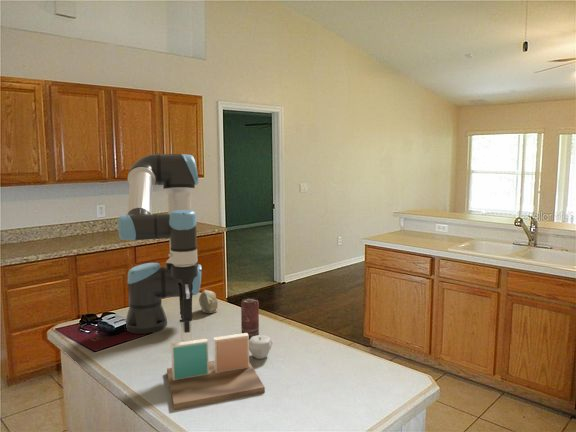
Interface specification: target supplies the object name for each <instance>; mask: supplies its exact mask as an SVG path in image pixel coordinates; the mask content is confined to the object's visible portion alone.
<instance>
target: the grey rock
mask: <svg viewBox="0 0 576 432" xmlns="http://www.w3.org/2000/svg"><path fill="white" fill-rule="evenodd" d="M198 297H199V298H198V302H199V306H200V309H201V310H202V312H203V313H205V314H212V313H216V312H218V311H217V309H218V299H217V294H216V293H215V292H214V291H212V290H207V289H203V290H202V292H201V293H200V295H199V296H198Z"/></svg>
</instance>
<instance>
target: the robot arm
mask: <svg viewBox="0 0 576 432" xmlns="http://www.w3.org/2000/svg"><path fill="white" fill-rule="evenodd" d="M127 183H128V184H129V192H128V201H127V211H126V214H124V215H120V216H119V217H118V220H117V230H118V237H119V239H120V240H121V241H133V242H134V241H144V240H145V241H146V240H160V239H161V240H163V239H168V240H169V253H168V254H167V255H168V257H169V258H168V259H167V260H166V262H165V266H161V264H160V263H159V262H148V263H142V264H139V265H135V266H133V267H131V268H130V269H129V271H128V272H127V281H126V282H127V289H128V290H127V291H128V310H127V314H126V318H125V321H124V323H125V322H126V328H127V331H126V332H129V333H130V334H132V333H133V334H150V333H154V332H157V331H161V330H163V329H164V328H166V327H167V326H168V317H167V315H166V312H165V310H164V306H163V305H162V299H168V298H170V299H171V298H179V315H180V319H179V323H180V326H181V327H180V328H181V342H185V341H192V335H193V334H192V322H193V296H196V295H198V294H199V292H200V289H201V283H202V270H203V269H202V265H201V264H199V263H198V261H199V260H198V246H197V245H198V244H197V243H198V241H197V233H198V232H197V225H198V221H197V215H196V214H197V213H196V212H195V211H194V210H192V193H193V192H194V191H195V187H196V186H197V185H198V184H199V175H198V170H197V163H196V159H195V158H194V156H193V155H191V154H185V153H184V154H183V153H163V154H162V153H159V154H156V153H152V154H148V155H145V156H142V157H141V158H139V159H138V160H137V161H135V162H134V163H133V164H132V165H131V167H130V168H129V170H128V173H127ZM154 186H162V187H163V192H165V193H166V194H167V204H168V205H167V208H168V212H167V213H160V214H159V213H158V214H157V213H154V214H153V189H154V188H153V187H154Z"/></svg>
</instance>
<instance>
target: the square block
mask: <svg viewBox="0 0 576 432" xmlns="http://www.w3.org/2000/svg"><path fill="white" fill-rule="evenodd" d="M170 346H171V349H170V351H171V353H170V355H171V368H172V378H173V380H178V379H184V378H190V377H196V376H202V375H207V374H209V363H208V362H209V341H208V339H207V338H201V339H193V340H192V341H185V342H182V341H180V342H173V343H170Z"/></svg>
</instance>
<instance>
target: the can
mask: <svg viewBox="0 0 576 432" xmlns="http://www.w3.org/2000/svg"><path fill="white" fill-rule="evenodd" d="M240 303H241V304H240V310H241V313H240V315H241V317H240V321H241V324H240V325H241V327H240V328H241V334H242V333H248V335H249V340H250V339H251V337H252V336H257V335H260V319H259V318H260V317H259V316H260V311H259V310H260V309H259V306H260V305H259V300H258V298H255V297H245V298H243V299H242V300H241V302H240Z"/></svg>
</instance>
